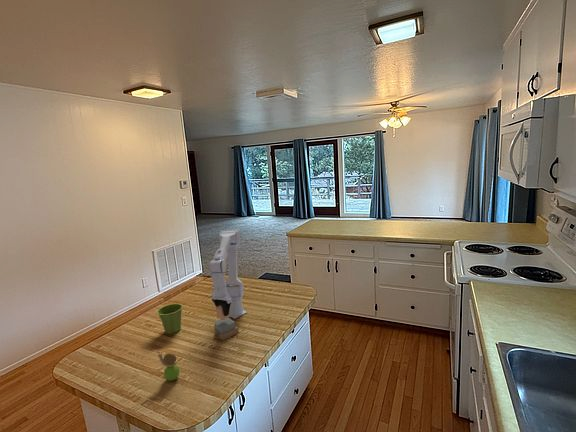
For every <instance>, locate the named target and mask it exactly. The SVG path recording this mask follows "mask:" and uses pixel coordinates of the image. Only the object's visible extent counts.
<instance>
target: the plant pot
mask: <svg viewBox="0 0 576 432" xmlns="http://www.w3.org/2000/svg"><path fill="white" fill-rule="evenodd" d="M183 306H184V305H183V304H182V303H170V304H166V305H164V306H162V307H160V308H158V309H157V310H156V314H157V315H158V317H159V318H160V320H161V324H162V326H163V329H164V332H165V333H166V334H169V335H172V334H176V333H178V332H179V331H181V329H182V312H183V311H182V310H183Z"/></svg>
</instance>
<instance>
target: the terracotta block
mask: <svg viewBox="0 0 576 432" xmlns="http://www.w3.org/2000/svg"><path fill="white" fill-rule="evenodd" d="M215 311H216V317H217V318H218V319H219V320H224V319H226V318H231V317H230V316H231V314H230V309H229V315H227V316H224V314H223V310H222V307H221V305H219V306H217V307H216V306H215Z"/></svg>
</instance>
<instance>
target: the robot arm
mask: <svg viewBox="0 0 576 432" xmlns="http://www.w3.org/2000/svg"><path fill="white" fill-rule="evenodd" d="M218 235H219V236H218V237H219V243H220V246H219V248H218V249H216V251H215V253H214V255H213V259H212V260H211V261H209V262H208V272H209V275H210V277H211V279H212V287H213V291H211V297H212V298H211V301H212V302H213V304H214V306H215V308H216V307H217V306H219V305H221V307H222V310H223V314H224V316H227V315H229V309H230V314H231V316H230V317H229V318H232V319H237V318H239V317H241V316H243V315H245V314H247V311H246V310H244V307H243V297H244V295H245V287H244V282H243V281H242V280H241V279H239V277H238V276H239V275H238V272H239V271H238V270H239V269H238V248H239V247H240V246H241V233H240V230H239V229H236V230H221V231H220V232H219V234H218ZM227 259H228V260H227ZM226 261H228V272H227V274H228V278H227V280H226V273H225V272H226V269H227V267H226V266H227V262H226Z"/></svg>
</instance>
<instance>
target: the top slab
mask: <svg viewBox="0 0 576 432" xmlns="http://www.w3.org/2000/svg"><path fill="white" fill-rule="evenodd" d="M213 325H214V329H216V330H217V331H219V332H220V333H221V334H223V333H226V332H228V331H230V330H232V329H234V328H236V327H237V326H236V322H235V321H234V320H233V319H231V317H228V318H226V319H224V320H221V319H219V320H217V321H215V322H213ZM235 326H236V327H235Z"/></svg>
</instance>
